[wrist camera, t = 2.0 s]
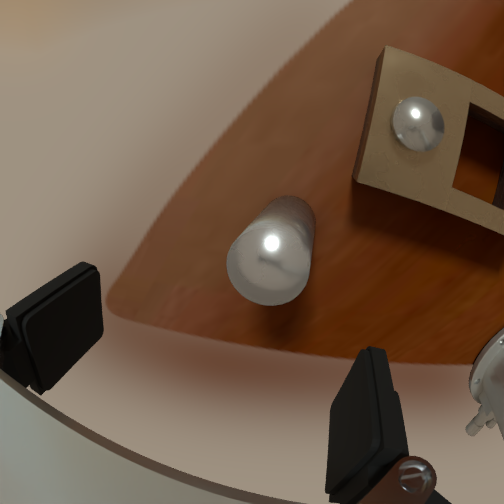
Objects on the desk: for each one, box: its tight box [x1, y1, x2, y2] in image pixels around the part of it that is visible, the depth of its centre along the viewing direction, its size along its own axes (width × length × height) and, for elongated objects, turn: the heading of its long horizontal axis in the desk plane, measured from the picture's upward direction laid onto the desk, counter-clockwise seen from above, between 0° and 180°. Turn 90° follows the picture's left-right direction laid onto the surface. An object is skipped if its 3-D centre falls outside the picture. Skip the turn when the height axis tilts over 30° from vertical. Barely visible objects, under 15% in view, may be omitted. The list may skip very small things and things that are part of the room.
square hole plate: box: [352, 45, 504, 235], centre depth 17 cm, size 20×10×5 cm, turn 79°
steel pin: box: [227, 196, 316, 306], centre depth 21 cm, size 4×4×10 cm
